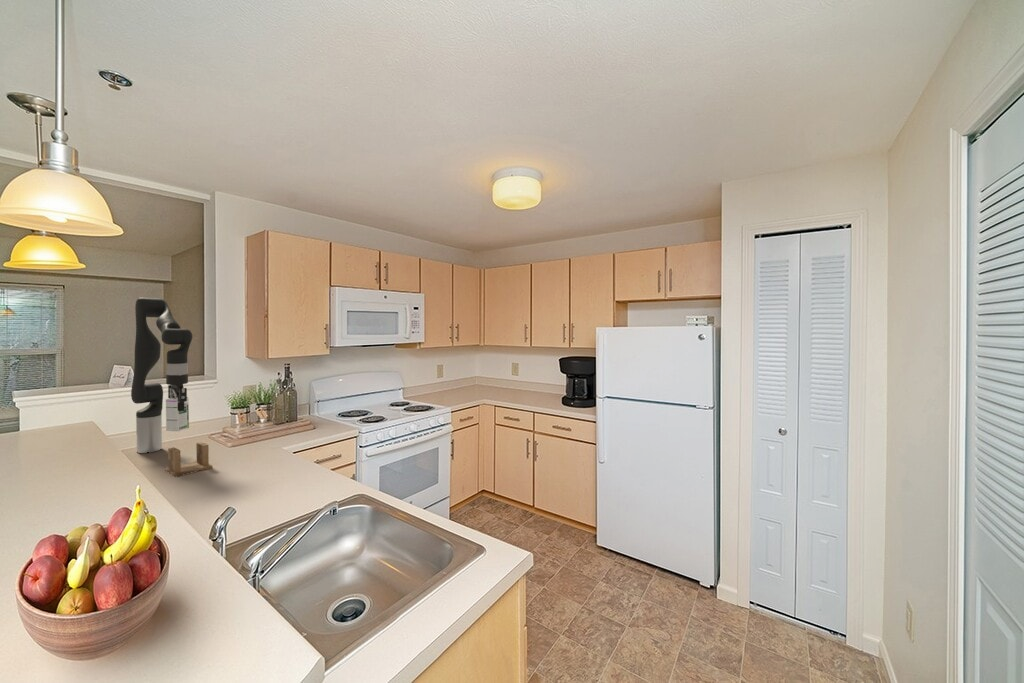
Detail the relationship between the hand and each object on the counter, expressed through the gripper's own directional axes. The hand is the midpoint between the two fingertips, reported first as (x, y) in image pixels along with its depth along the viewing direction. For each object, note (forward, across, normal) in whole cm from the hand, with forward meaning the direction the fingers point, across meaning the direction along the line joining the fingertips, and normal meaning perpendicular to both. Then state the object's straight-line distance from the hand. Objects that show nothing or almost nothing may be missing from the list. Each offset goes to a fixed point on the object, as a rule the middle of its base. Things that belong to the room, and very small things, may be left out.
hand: (177, 409), depth 178 cm
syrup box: (+9, 0, 0) cm, 9 cm away
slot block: (+25, +12, 0) cm, 27 cm away
